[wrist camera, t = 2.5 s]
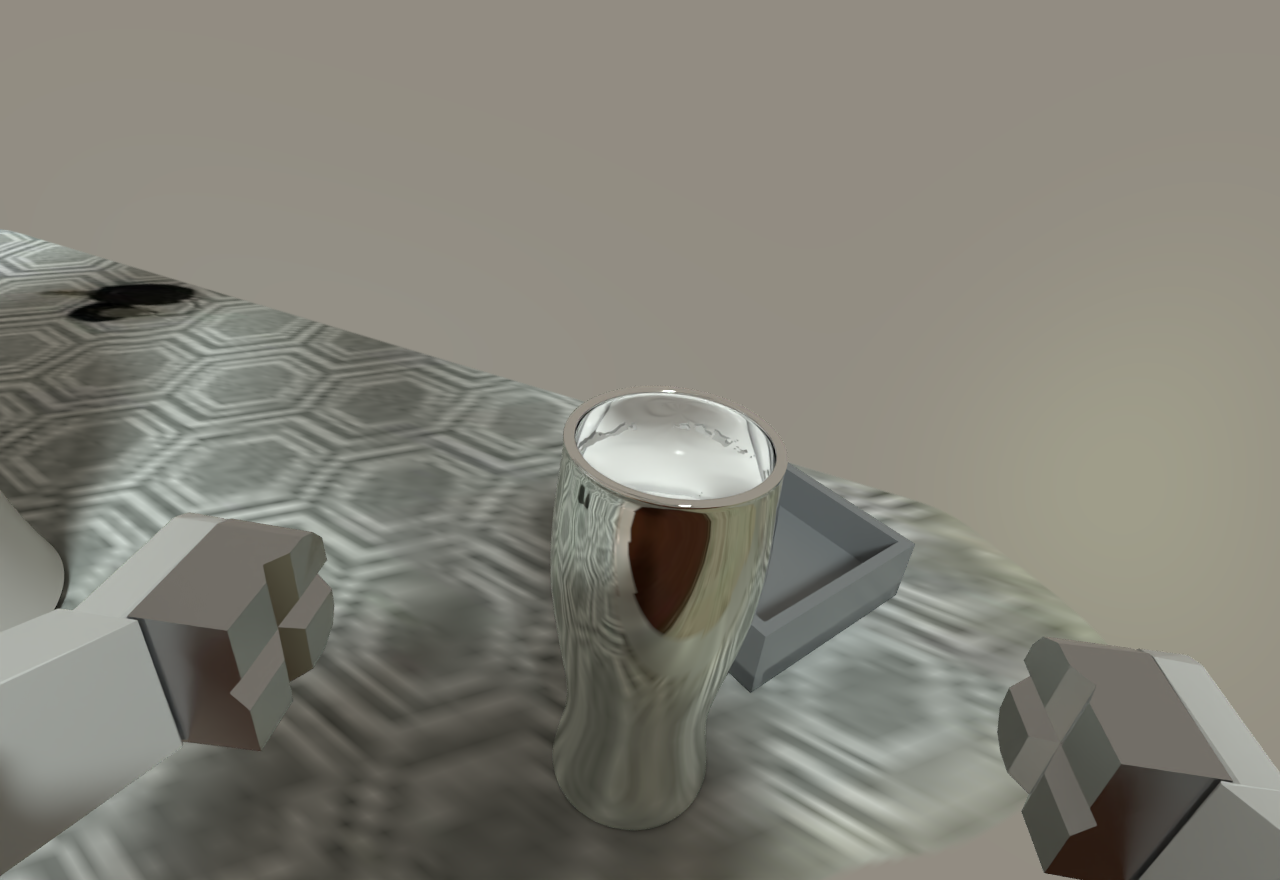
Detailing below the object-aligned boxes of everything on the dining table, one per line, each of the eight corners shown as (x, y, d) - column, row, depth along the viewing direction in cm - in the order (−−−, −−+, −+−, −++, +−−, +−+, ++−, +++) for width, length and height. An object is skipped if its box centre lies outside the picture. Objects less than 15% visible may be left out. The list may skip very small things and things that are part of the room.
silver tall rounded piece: (750, 798, 28) (846, 479, 20) (585, 877, 25) (622, 537, 17) (662, 666, 33) (712, 369, 25) (515, 718, 30) (520, 399, 22)
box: (750, 692, 32) (765, 636, 31) (601, 551, 39) (605, 499, 38) (895, 594, 39) (915, 543, 37) (744, 488, 46) (755, 441, 44)
